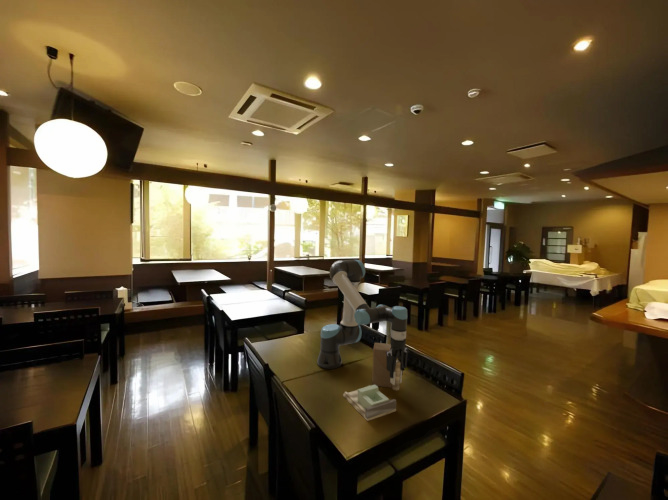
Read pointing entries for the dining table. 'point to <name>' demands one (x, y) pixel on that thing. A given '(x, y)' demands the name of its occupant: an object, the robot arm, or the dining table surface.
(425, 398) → the dining table surface
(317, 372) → the dining table surface
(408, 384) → the dining table surface
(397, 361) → the dowel
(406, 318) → the robot arm
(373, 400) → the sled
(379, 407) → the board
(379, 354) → the wooden block
